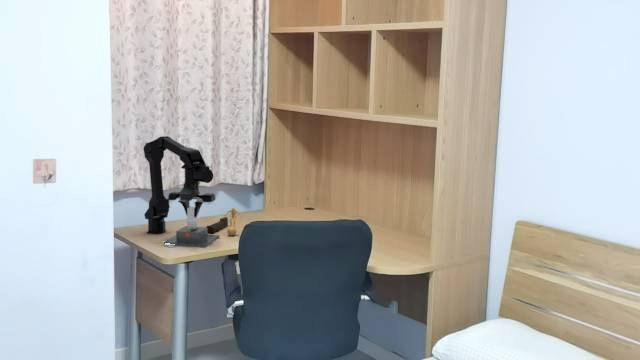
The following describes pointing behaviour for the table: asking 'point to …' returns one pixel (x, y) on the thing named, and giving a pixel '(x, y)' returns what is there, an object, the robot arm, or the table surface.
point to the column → (191, 218)
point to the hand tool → (217, 225)
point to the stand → (192, 237)
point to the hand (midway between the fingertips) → (192, 217)
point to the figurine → (231, 230)
